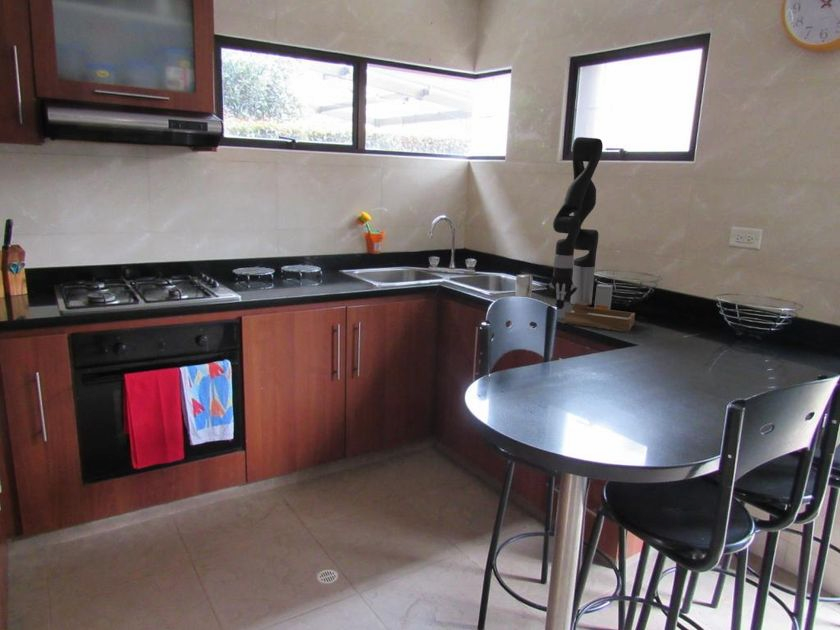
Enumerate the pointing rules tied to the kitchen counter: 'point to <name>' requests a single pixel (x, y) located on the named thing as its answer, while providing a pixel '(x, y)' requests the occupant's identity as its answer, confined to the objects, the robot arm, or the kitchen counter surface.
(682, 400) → the kitchen counter surface
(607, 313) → the trap tray
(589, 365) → the kitchen counter surface
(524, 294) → the blue flashlight
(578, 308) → the block
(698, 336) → the kitchen counter surface
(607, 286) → the skincare box
